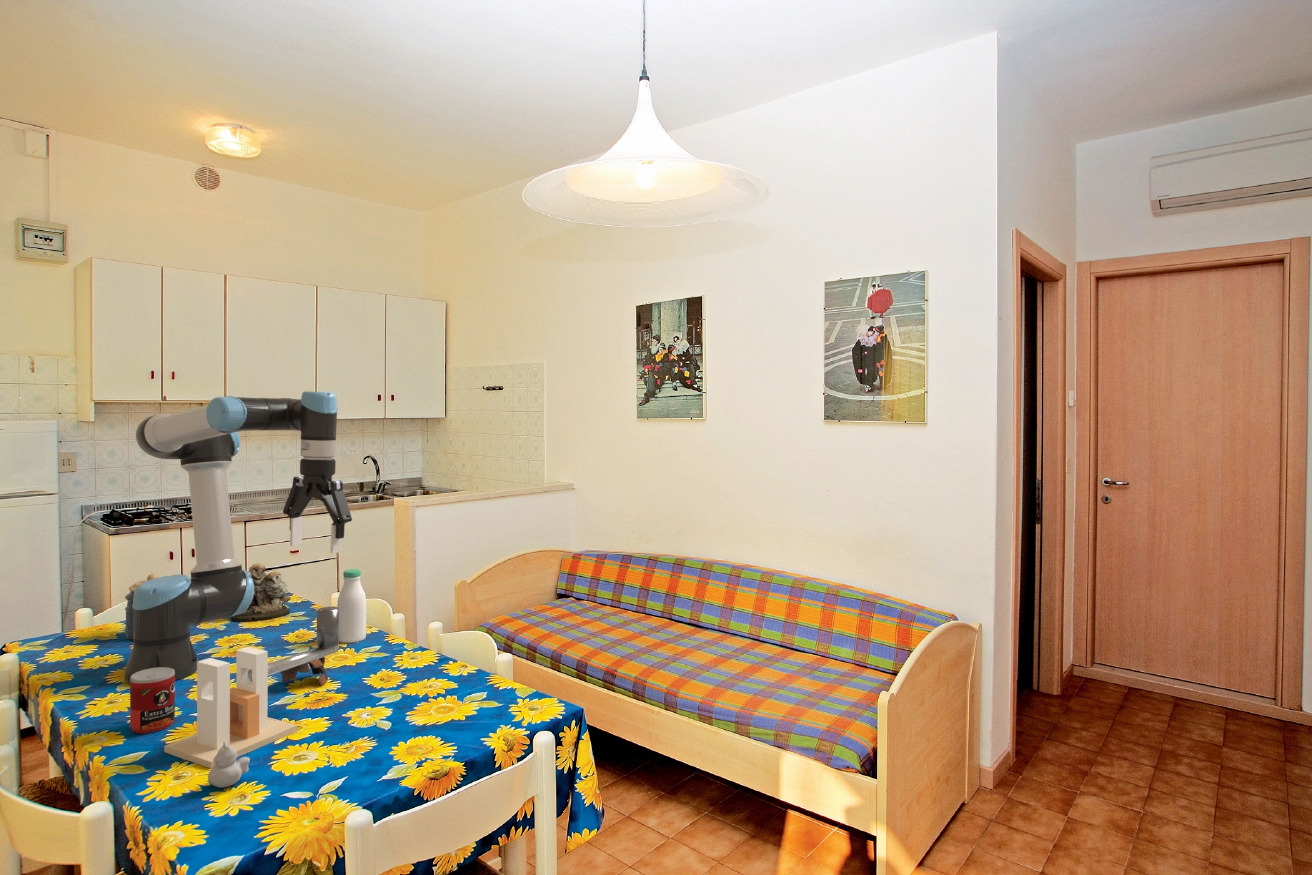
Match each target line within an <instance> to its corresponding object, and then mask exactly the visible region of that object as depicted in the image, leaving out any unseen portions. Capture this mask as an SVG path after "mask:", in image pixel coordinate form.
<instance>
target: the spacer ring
mask: <svg viewBox="0 0 1312 875" xmlns="http://www.w3.org/2000/svg"><path fill="white" fill-rule="evenodd" d="M238 704H241V705H243V722H241V721H238ZM230 734H232V735H235V736H239V737H242V738H245V739H249V738H252V737H254V736H257V735H259V694H255V693H251V692H248V691H244V690H240V689H237V688H236V687H230Z"/></svg>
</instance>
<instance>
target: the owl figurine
mask: <svg viewBox="0 0 1312 875" xmlns="http://www.w3.org/2000/svg"><path fill="white" fill-rule="evenodd" d="M266 570H267V569H266V566H265V564H263V563H259V562H256V563H253V564H252V565H251V566H250V567H249V569H248V571H247V570H246V571H247V572H249V573H250V575H251V578H252V579H253V583H254V594H253V599H252V601H251V604H250V605H249V607H248V608H247V609H246V610H245V611H244V612H243V613H241V614H238V615H235V616H232V617H230V618H229V619H230V620H231V621H233V622H236V623H248V622H249V623H251V622H252V621H253V622H260V621H261V622H262V621H268V620H269V621H270V620H273V619H280V618H282V617H285V616H287V615H289V614H290V613H291V610H290V608H288V606H286V605H284V604H286V603H287V602H289V601H290V600H292V597H291V596H289V595H286V594H287V591H288V587H287V586H288V585H287V580H286V579H284V578H283V576H282V574H281V573H280V571H277V570H275V571H271V572H269V573H266Z"/></svg>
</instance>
